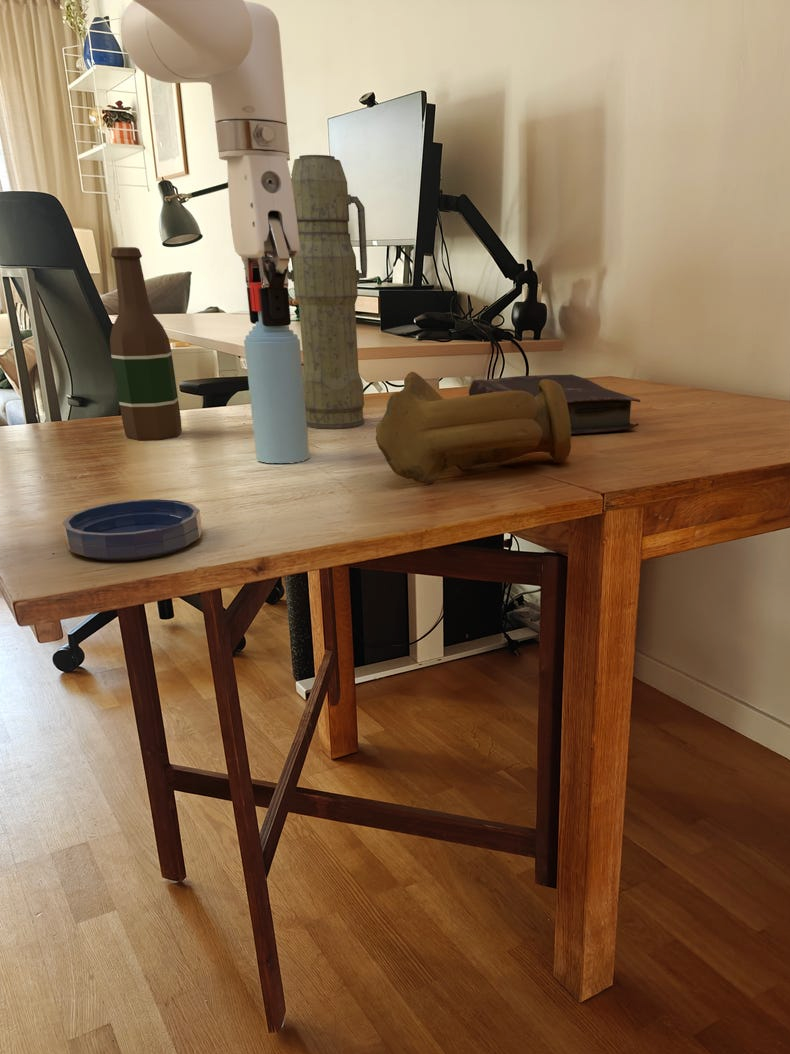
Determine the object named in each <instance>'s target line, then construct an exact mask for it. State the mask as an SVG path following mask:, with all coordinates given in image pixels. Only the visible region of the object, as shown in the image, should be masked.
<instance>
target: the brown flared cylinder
mask: <svg viewBox="0 0 790 1054" xmlns="http://www.w3.org/2000/svg"><path fill="white" fill-rule="evenodd" d="M403 383H404V386H403V388H402V389H401V390H400V391H396V392H393V393H391V394H390V396H389V398H388V400H387V403H386V411H385V413H384V415H383V417H382V418H381V420H379V423H378V424H377V425H376V428H375V433H376V434H375V441H376V444H377V447H378V449H379V450H380V451H381V453H382V454H383V457H384V458H385V460H386V462H387V463H388V465H389V467H390V469H391V470H392V471H393V473H394V474H396V475H397V476H399V477H402V478H404V479H407V480H410V479H412V480H413V481H415V482H417V483H419V484H423V485H424V484H425V485H427V484H432V483H434V482H435V481H436V480H437V479H438V478H440V476H441V475H442V474H443V473H445V471H446V470H448V469H449V468H451V467H455V466H456V467H457V468H458V469H459V470H460V471H466V470H469V469H471V468H473V467H477V466H479V465H480V466H481V465H484V464H497V463H503V462H506V461H509V460H512V459H516V458H518V457H522V456H524V455H528V454H532V453H540V452H541V453H548V454H549V456H550V458H551V459H552V461H553V463H555V464H560V463H562V462H564V461H565V460H566V459H567V458H568V457H569V456H570V453H571V449H572V445H571V444H572V443H571V437H572V434H571V424H570V417H569V411H568V406H567V401H566V397H565V394H564V391H563V388H562V387H561V385H560V384H558V383H557V382H556V381H553V380H548V379H544V380H541V381H540V382H539V394H538V395H537V396H536V397H534V396H533V395H532V394H530V393H528V392H525V391H502V392H492V393H485V394H478V395H472V396H469V395H465V396H460V397H459V396H458V397H450V398H445V399H444V398H443V397H442V396H441V394H439V393H438V392H437V391H436V390H435V389H434V387H433V386H431V385H430V384H429V382H427V381H426V379H424V377H422V376H421V375H420V374H418V373H417V372H415V371H410V372H409V373H408V374H407V375H406V376H405V377H404V381H403Z"/></svg>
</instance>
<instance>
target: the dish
mask: <svg viewBox="0 0 790 1054" xmlns="http://www.w3.org/2000/svg"><path fill="white" fill-rule="evenodd" d="M61 525H62V530H63V535H64V540H65V544H66V547H67V549H68V550H69V551H70V552H71V553H74V554H76V555H80V556H83V557H85V558H89V559H92V560H97V561H107V562H118V561H119V562H124V561H137V560H138V561H139V560H146V559H151V558H152V559H153V558H157V557H161V556H165V555H169V554H172V553H175V552H178V551H180V550H183V549H185V548H186V547H188V546H189V545H190V544H192V543H193V542H195V541H197V540H199V539H200V538H201V535H202V533H203V526H202V519H201V512H200V509H199V508H198V507H197V506H195V505H194V504H193V503H189V502H185V501H180V500H175V499H159V498H158V499H157V498H153V499H132V500H123V501H116V502H109V503H103V504H100V505H95V506H92V507H87V508H84V509H81V510H78V511H76V512H73V513H72V514H69V515H68V516H67V517H66V518H65V519H64V520H63V521H62V522H61Z"/></svg>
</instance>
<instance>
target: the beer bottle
mask: <svg viewBox="0 0 790 1054" xmlns="http://www.w3.org/2000/svg"><path fill="white" fill-rule="evenodd" d="M110 257H111V258H112V259H113V260H114V262H113V263H114V272H115V281H116V291H117V300H118V301H117V303H118V304H117V305H118V307H117V309H118V310H117V311H118V312H117V316H116V319H115V321H114V323H113V325H112V326H111V330H110V331H111V332H110V337H109V347H110V358H111V362H112V368H113V374H114V380H115V386H116V392H117V398H118V404H119V410H120V415H121V421H122V422H121V423H122V426H123V429H124V435H125V437H126V438H127V439H130V440H136V441H158V440H159V441H161V440H165V439H172V438H177V437H179V435H181V433H182V430H183V429H182V416H181V410H180V403H179V396H178V395H179V394H178V387H177V381H176V374H175V368H174V361H173V360H174V359H173V353H172V348H171V344H170V343H171V342H170V339H169V336H168V334H167V332H166V330H165V328H164V326H163V324H162V323H161V322H160V320H159V319H157V317H156V316H155V314H154V313H153V311H152V308H151V304H150V301H149V296H148V292H147V287H146V281H145V277H144V273H143V268H142V261H141V258H142V257H143V254H142V252H141V250H140V248H139V247H136V246H114V247H113V248H111V253H110Z"/></svg>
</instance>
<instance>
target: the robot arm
mask: <svg viewBox="0 0 790 1054" xmlns="http://www.w3.org/2000/svg"><path fill="white" fill-rule="evenodd" d="M120 35H121V40H122V45H123V47H124V49H125V51H126V54H127V55H128V57H129V59H130V61H132V63H133V64H134V65H135V66H136V67H137V69H139V70H140V71H141V72H142V73H143V74H145V75H147V76H148V77H150V78H152V79H154V80H156V81H160V82H163V83H167V84H169V83H170V84H186V83H187V84H189V83H190V84H192V83H206V84H209V85H210V89H211V97H212V105H213V106H212V107H213V115H214V123H215V124H214V125H215V132H216V133H215V134H216V142H217V152H218V159H219V160H222V161H226V162H227V163H226V164H227V167H226V168H227V189H228V204H229V206H228V207H229V217H230V227H231V235H232V236H231V237H232V243H233V247H234V251H235V252H236V255H238V256H239V257H241V261H242V264H243V266H244V267H243V269H244V275H245V285H246V293H247V304H248V313H249V321H250V323H251V324H255V325H256V322H258V321H259V318H258V311H252V309H251V300H250V290H249V287H250V285H249V283H251V282H261V284H262V287H263V288H259V294H260V304H261V314H262V323H263V325H264V326H290V325H291V323H292V320H291V308H290V297H289V279H288V277H287V271H288V269H289V263H290V259H292V258H295V257H296V256H297V255H298V254H299V252H300V244H299V235H298V226H297V218H296V209H295V201H294V194H293V188H292V181H291V177H292V176H291V171H290V167H289V163H288V161H291V156H290V143H289V142H290V141H289V131H288V129H289V128H288V119H287V117H288V116H287V105H286V92H285V80H284V69H283V68H284V67H283V56H282V44H281V32H280V25H279V21H278V18H277V16H276V14H275V13H274V12H273V11H272V10H271V9H270V8H269V7H267V6H265V5H262V4H261V3H257V2H253V1H246V0H132V1H131V2H130V3H129V4H128V5H127V7H126V8H125V10H124V12H123V15H122V18H121V23H120ZM287 266H288V267H287Z"/></svg>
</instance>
